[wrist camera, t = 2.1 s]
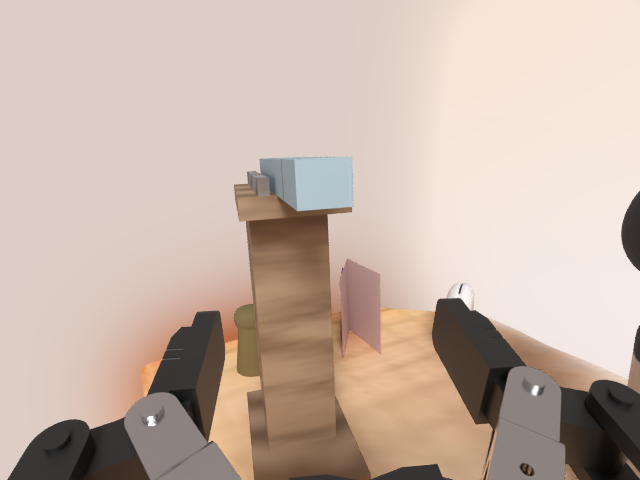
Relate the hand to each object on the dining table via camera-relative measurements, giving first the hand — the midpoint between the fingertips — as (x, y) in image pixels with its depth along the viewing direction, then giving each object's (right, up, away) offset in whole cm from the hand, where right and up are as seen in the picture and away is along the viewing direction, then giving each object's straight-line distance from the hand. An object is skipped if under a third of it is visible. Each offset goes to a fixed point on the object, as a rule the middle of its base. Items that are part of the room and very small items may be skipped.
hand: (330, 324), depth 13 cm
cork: (-12, -19, +50) cm, 55 cm away
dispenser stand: (-3, -22, +33) cm, 40 cm away
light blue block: (-3, +8, +20) cm, 22 cm away
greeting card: (+7, -17, +56) cm, 59 cm away
